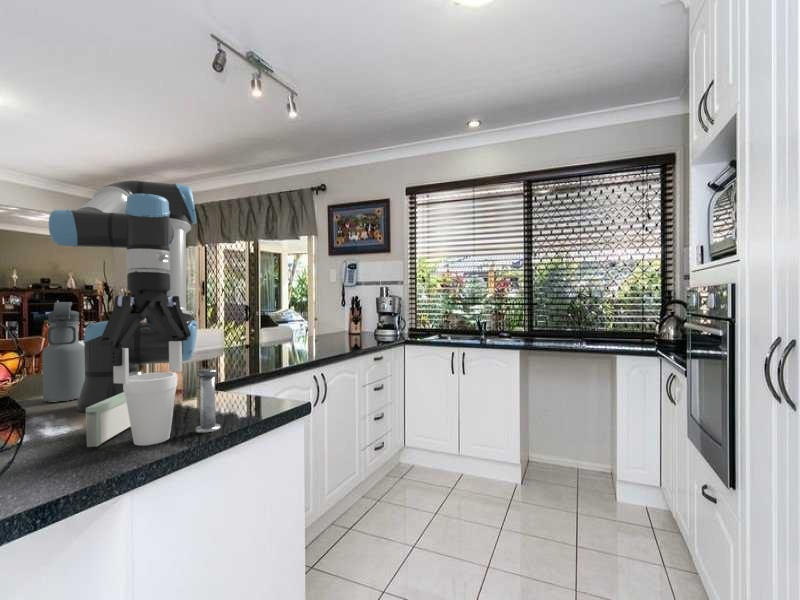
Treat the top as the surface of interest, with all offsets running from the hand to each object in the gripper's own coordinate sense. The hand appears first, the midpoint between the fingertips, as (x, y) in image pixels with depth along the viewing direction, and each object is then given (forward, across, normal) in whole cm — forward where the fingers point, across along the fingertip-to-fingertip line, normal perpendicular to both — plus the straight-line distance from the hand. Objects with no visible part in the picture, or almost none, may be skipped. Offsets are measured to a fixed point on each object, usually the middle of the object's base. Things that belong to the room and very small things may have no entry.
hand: (150, 376), depth 85 cm
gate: (+12, 0, +9) cm, 15 cm away
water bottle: (+12, +24, +53) cm, 60 cm away
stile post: (+13, +8, -7) cm, 17 cm away
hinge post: (+13, +8, +12) cm, 20 cm away
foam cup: (+13, 0, 0) cm, 13 cm away
